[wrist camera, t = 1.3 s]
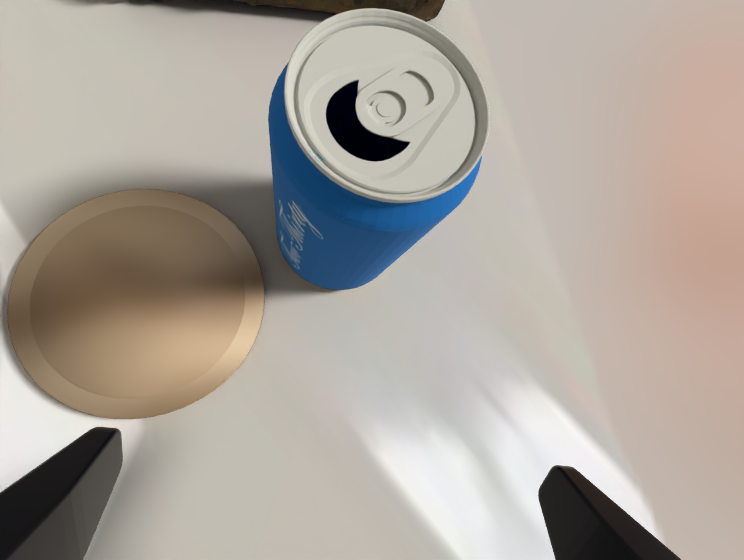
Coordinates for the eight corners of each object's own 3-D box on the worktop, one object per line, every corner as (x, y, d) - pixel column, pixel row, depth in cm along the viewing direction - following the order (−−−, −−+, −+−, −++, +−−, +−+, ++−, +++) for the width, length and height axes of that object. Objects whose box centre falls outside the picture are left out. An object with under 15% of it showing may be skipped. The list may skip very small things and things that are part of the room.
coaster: (295, 359, 20) (296, 359, 19) (58, 460, 17) (48, 464, 16) (222, 169, 21) (219, 163, 20) (-15, 233, 18) (-26, 228, 17)
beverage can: (252, 223, 21) (209, 60, 9) (343, 160, 23) (403, -41, 11) (328, 316, 21) (380, 268, 9) (414, 246, 23) (547, 132, 11)
